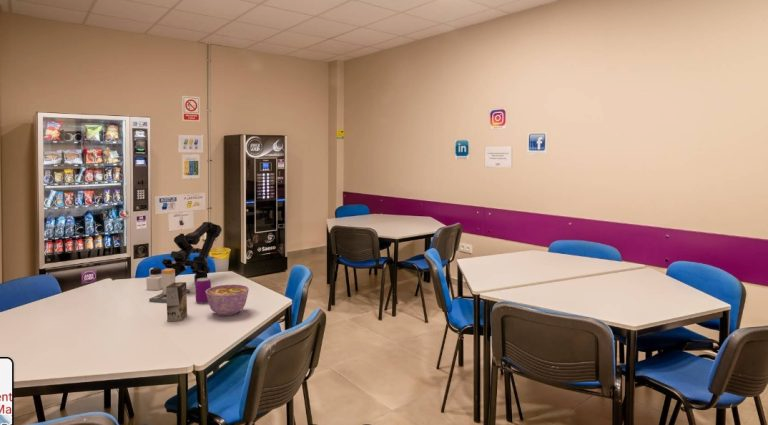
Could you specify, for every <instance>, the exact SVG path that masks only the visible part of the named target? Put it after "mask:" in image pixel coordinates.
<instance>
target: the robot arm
mask: <svg viewBox="0 0 768 425" xmlns="http://www.w3.org/2000/svg"><path fill="white" fill-rule="evenodd" d="M221 232H222V227H221V225H218V224H215V223H213V222H211V221H204V222H202V224H201V225H200V226H198V227H197V228H196V229H194V231H192V232H188V233H186V234H184V233H179V235H176V236H175V237H174V238H173V243H175V245H176V246H177V247H178V248H179V249H180V250H179V251H177V250H176V251H175V250H174V251H173V250H172V251H170V252H171V253H170V256H169V257H170V258H163V259H162V261H161V264H162V265H163V266H164V267H165V269H175V278H176V277H178V276H179V275H180V274H182V273H183V272H185V271H187V268H188V267H190V269H191V271H192V274H194V276H193V277H194V281H193V282H194V283H196V281H197V279H199V278H208V274H209V273H210V271H211V268H210V267H209V263H208V257H209V254H210V252H211V250H212V246H213V245H214V242H215V239H217V238H218V237H220V235H221ZM205 234H206V238H205V239H204V243H203V245H202V248H201V249H200V251H199V254H198V256H194V257H193V259H191V257H190V256H191V253H192V252H195V247H194V246H197V245H198V244H199V242H200V241H201V237H203V235H205ZM171 258H173V259H171Z"/></svg>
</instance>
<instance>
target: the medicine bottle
mask: <svg viewBox="0 0 768 425" xmlns="http://www.w3.org/2000/svg"><path fill="white" fill-rule="evenodd" d="M148 271H149V276H147V277H146V278H145V281H146V290H147V291H160V290H162V268H161V267H157V266H156V267H151V268H150V269H149V270H148Z"/></svg>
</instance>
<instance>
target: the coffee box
mask: <svg viewBox="0 0 768 425" xmlns="http://www.w3.org/2000/svg"><path fill="white" fill-rule="evenodd" d="M186 289H187V282H184V281H183V282H182V281H181V282H179V281H178V282H175V283H172V284H170V285H169V286H167V287H166V295H167V303H166V317H167V318H166V321H167V322H181V321H183V319H184V318H185V317H187V316H188V302H187V301H188V297H187V296H188V293H187V291H186Z"/></svg>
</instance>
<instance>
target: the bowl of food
mask: <svg viewBox="0 0 768 425" xmlns="http://www.w3.org/2000/svg"><path fill="white" fill-rule="evenodd" d="M249 291H250V288H249V287H248V286H247V285H243V284H221V285H215V286H211V288H209V289H207V290H206V291H205V292H206V295H207V299H208V305H209V308H210V310H211V311H212V312H214V313H216V314H219V315H220V316H223V317H225V316H226V317H227V316H232V315H235V314H237V313H238V312H240V311H242V310H243V309H244V307H245V306H246V303H247V300H248V299H247V298H248V295H249Z"/></svg>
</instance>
